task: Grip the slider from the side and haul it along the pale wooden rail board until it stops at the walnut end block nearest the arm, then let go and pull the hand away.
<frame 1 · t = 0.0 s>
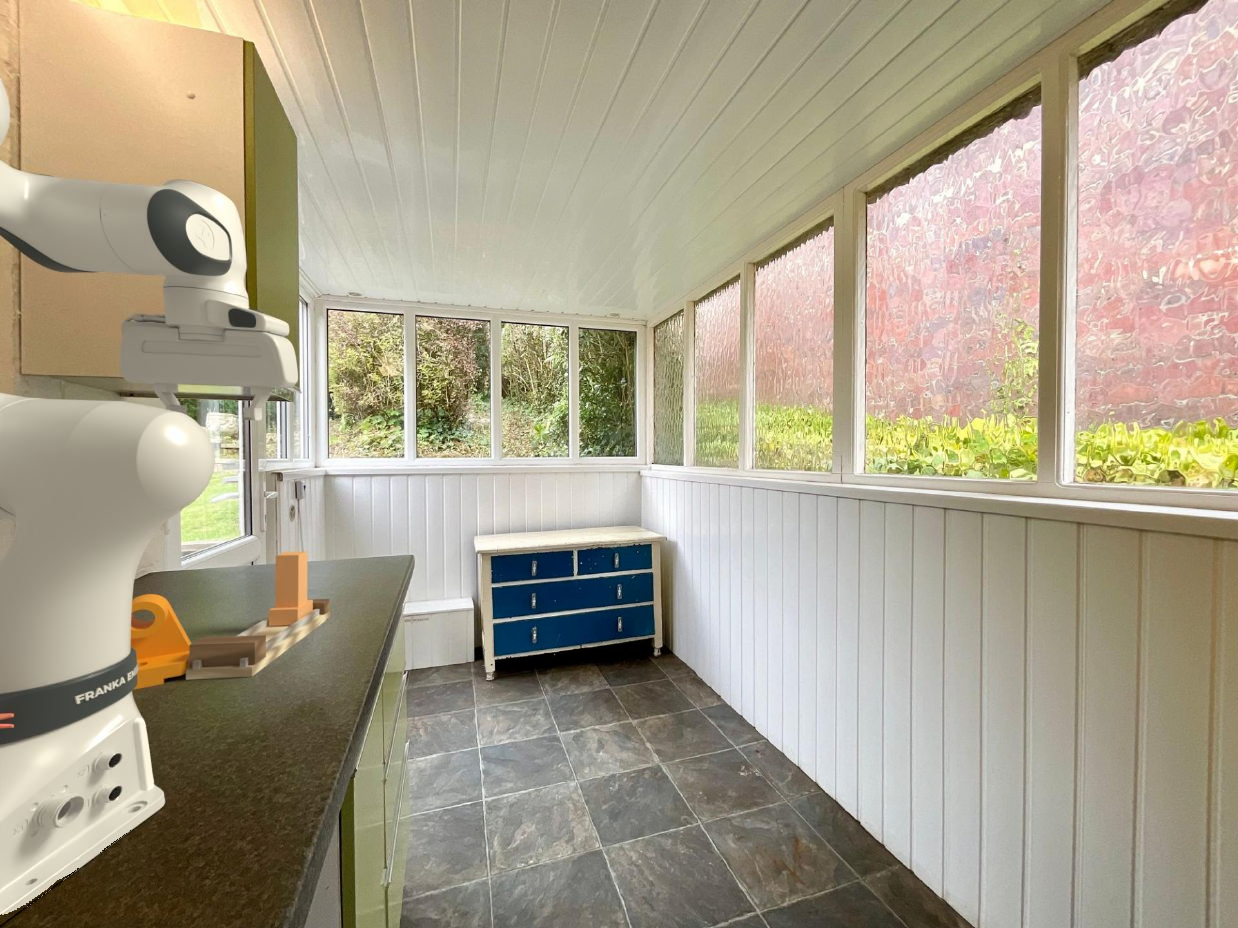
hand: (215, 419, 67), 39 cm above the countertop, tool pointing down, fingers open, 8 cm apart
slider: (291, 586, 94), point 8 cm above the countertop, slide at 0.0 cm
bracket: (142, 680, 72), on the countertop
rail board: (269, 643, 86), on the countertop
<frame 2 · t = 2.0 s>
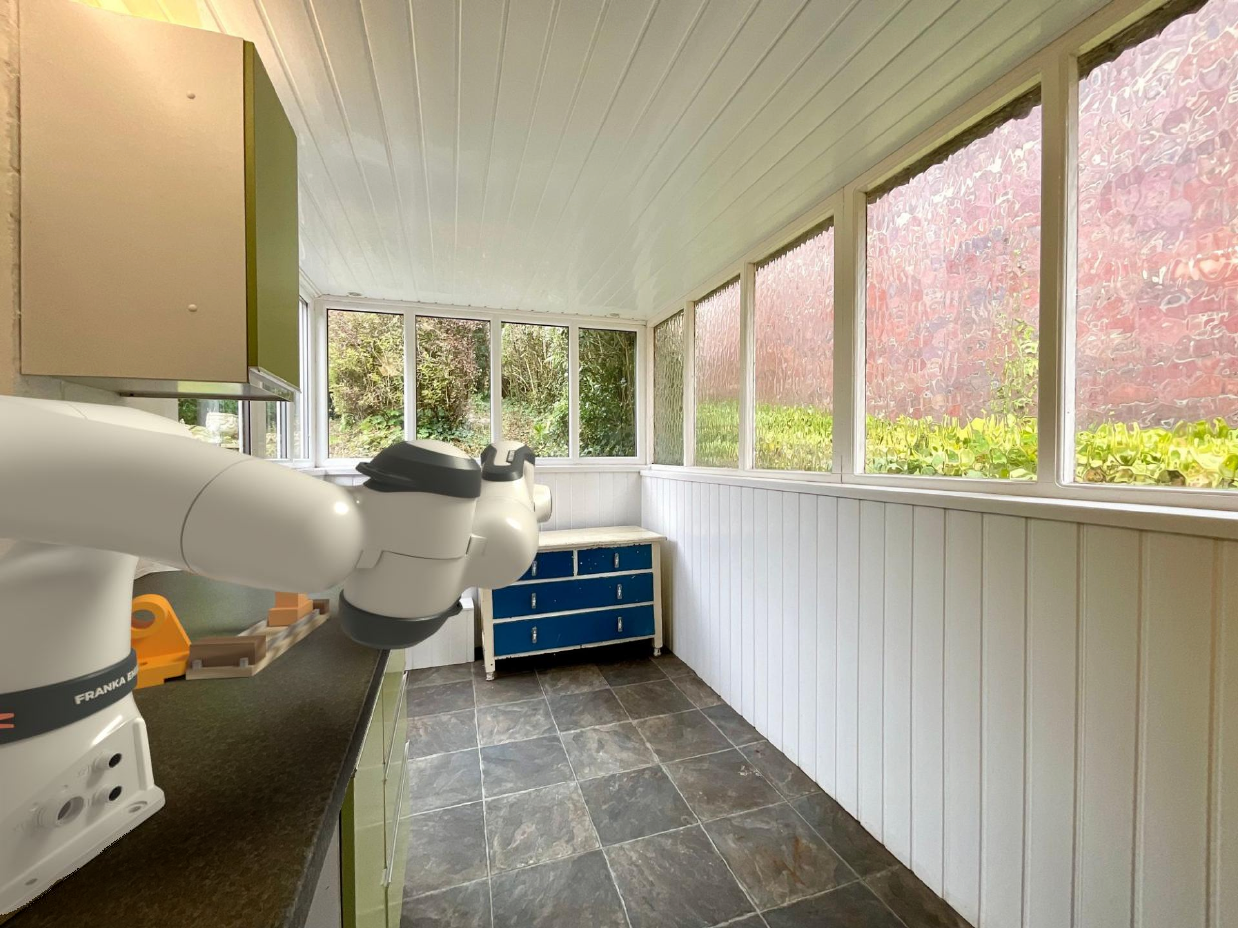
hand: (399, 504, 96), 24 cm above the countertop, tool horizontal, fingers open, 8 cm apart
nothing on the countertop moved.
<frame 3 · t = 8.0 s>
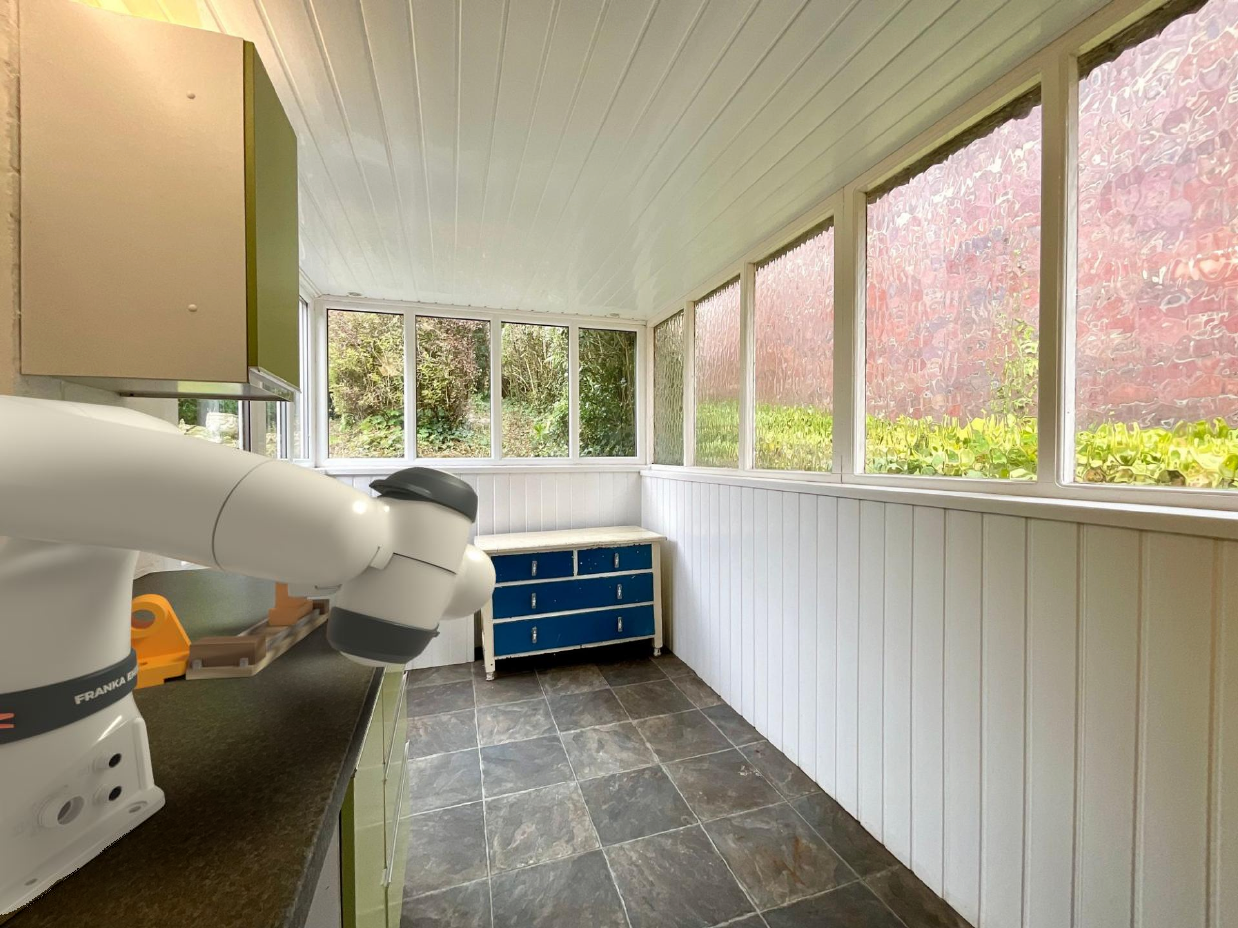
hand: (286, 574, 93), 11 cm above the countertop, tool horizontal, fingers closed on slider, 3 cm apart
slider: (291, 586, 94), point 8 cm above the countertop, slide at 0.0 cm, touching gripper
everything else where it was.
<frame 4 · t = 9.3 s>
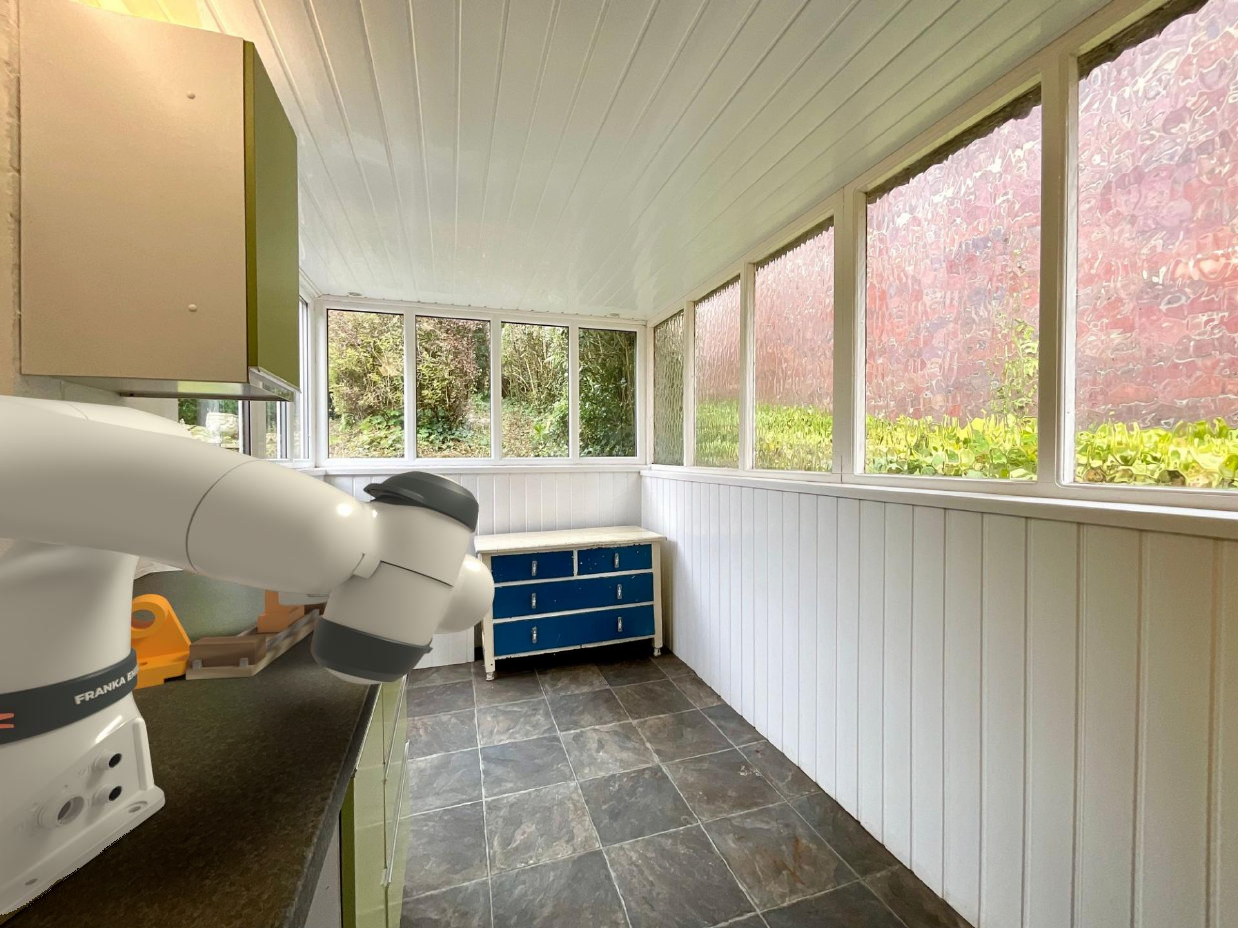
hand: (277, 582, 90), 10 cm above the countertop, tool horizontal, fingers closed on slider, 4 cm apart
slider: (281, 591, 90), point 8 cm above the countertop, slide at 3.5 cm, touching gripper
everything else where it was.
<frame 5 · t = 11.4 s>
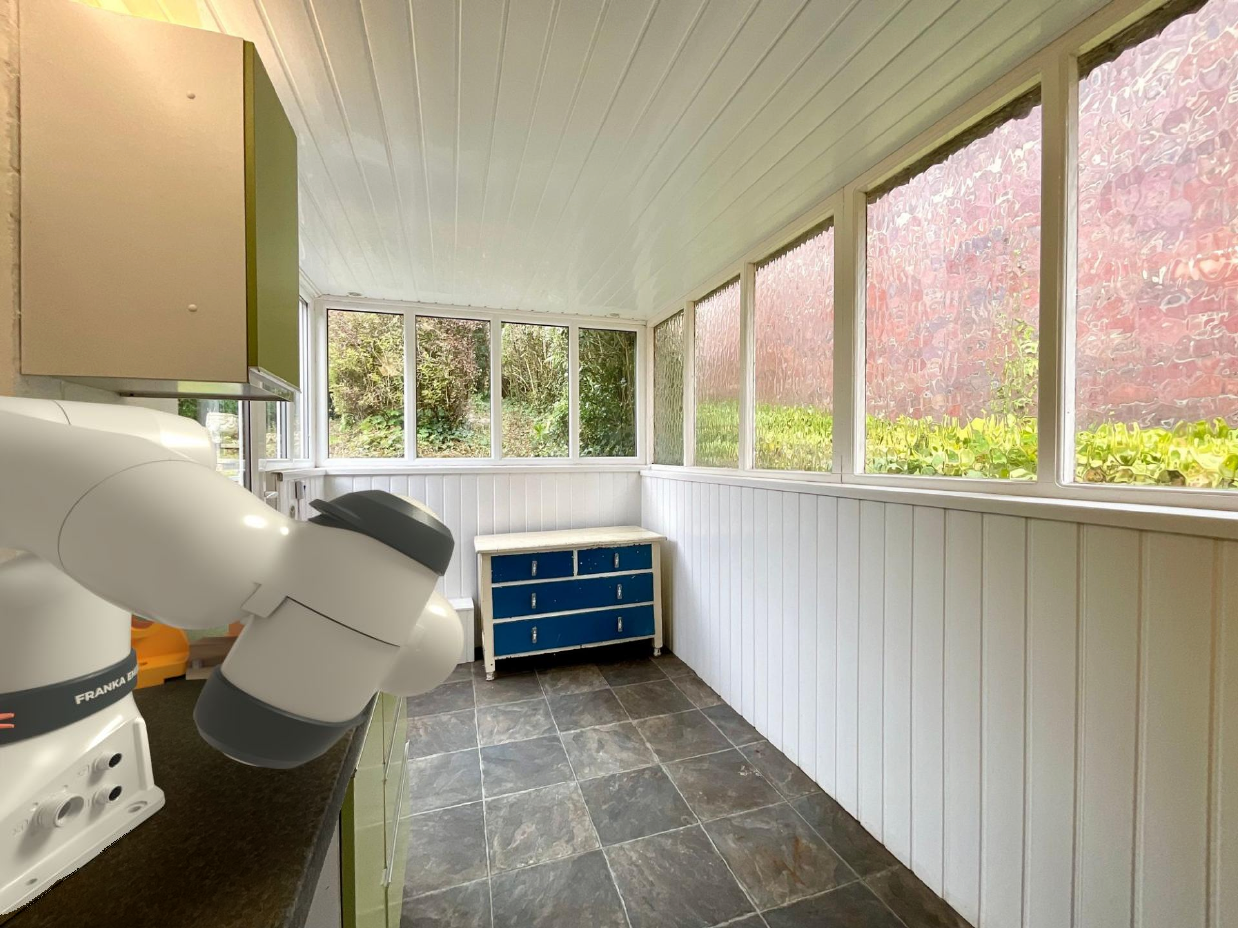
hand: (243, 596, 80), 10 cm above the countertop, tool horizontal, fingers closed on slider, 3 cm apart
slider: (248, 608, 80), point 8 cm above the countertop, slide at 13.7 cm, touching gripper
everything else where it was.
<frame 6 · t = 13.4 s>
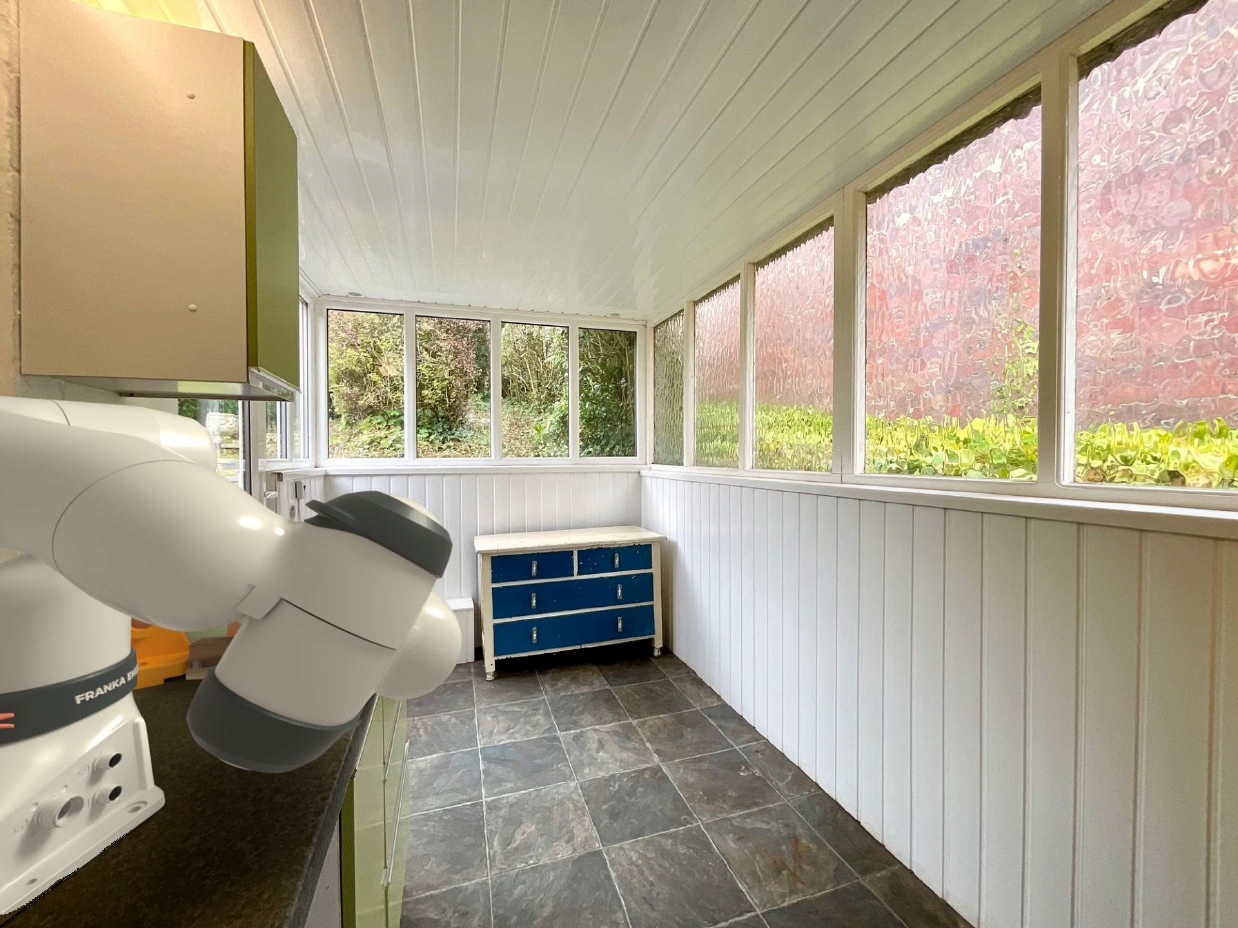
hand: (241, 596, 80), 10 cm above the countertop, tool horizontal, fingers open, 8 cm apart
slider: (247, 609, 80), point 8 cm above the countertop, slide at 14.0 cm
everything else where it was.
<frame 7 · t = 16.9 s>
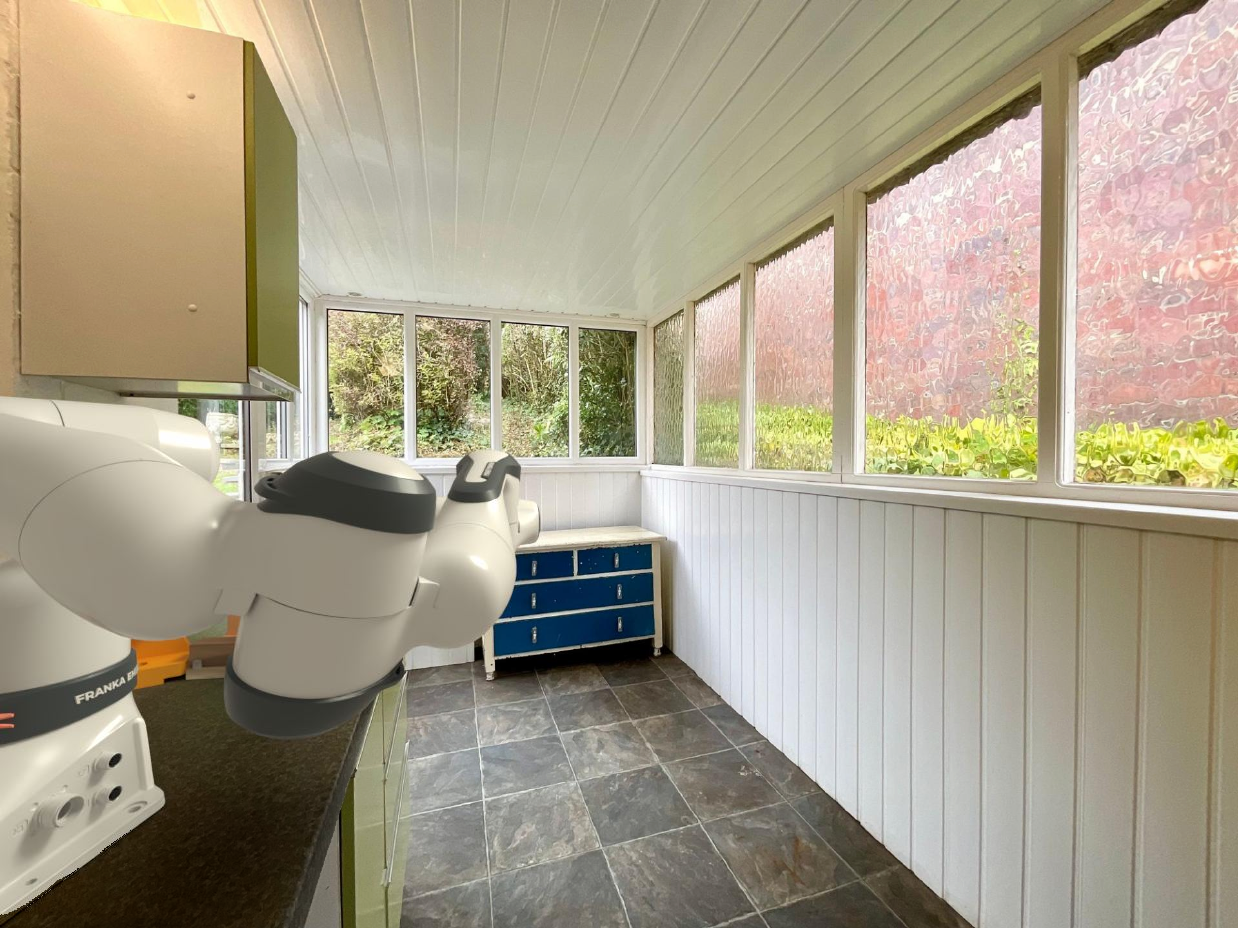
hand: (362, 521, 83), 23 cm above the countertop, tool horizontal, fingers open, 8 cm apart
nothing on the countertop moved.
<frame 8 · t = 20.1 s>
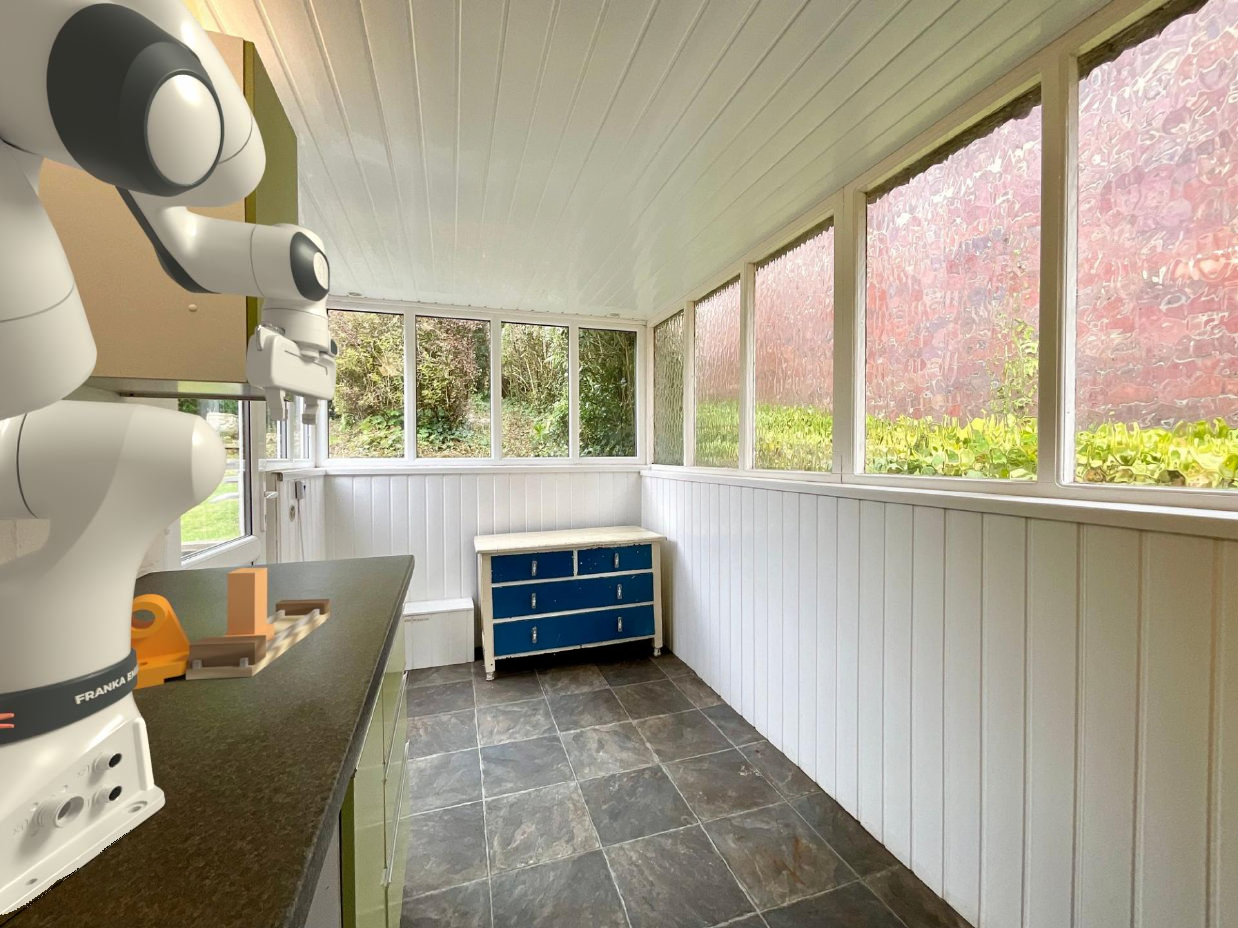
hand: (295, 422, 77), 39 cm above the countertop, tool pointing down, fingers open, 8 cm apart
nothing on the countertop moved.
at the end: slider slide at 14.0 cm; the gripper is holding nothing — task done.
